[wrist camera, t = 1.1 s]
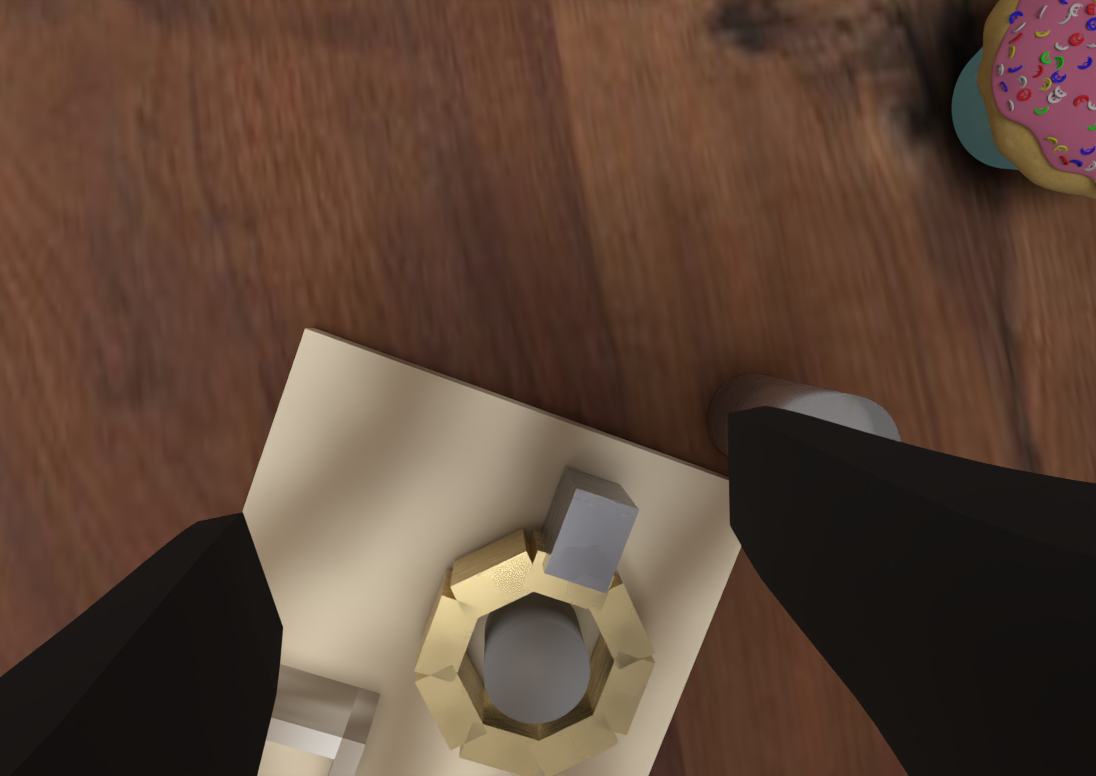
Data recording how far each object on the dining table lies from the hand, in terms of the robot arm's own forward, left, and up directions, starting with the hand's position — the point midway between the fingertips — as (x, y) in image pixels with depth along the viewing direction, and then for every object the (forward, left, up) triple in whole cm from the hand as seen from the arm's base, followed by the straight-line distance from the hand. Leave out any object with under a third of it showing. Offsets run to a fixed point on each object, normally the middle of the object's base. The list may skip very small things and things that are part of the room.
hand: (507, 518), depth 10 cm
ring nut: (-4, +7, -14) cm, 16 cm away
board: (-2, +10, -16) cm, 19 cm away
